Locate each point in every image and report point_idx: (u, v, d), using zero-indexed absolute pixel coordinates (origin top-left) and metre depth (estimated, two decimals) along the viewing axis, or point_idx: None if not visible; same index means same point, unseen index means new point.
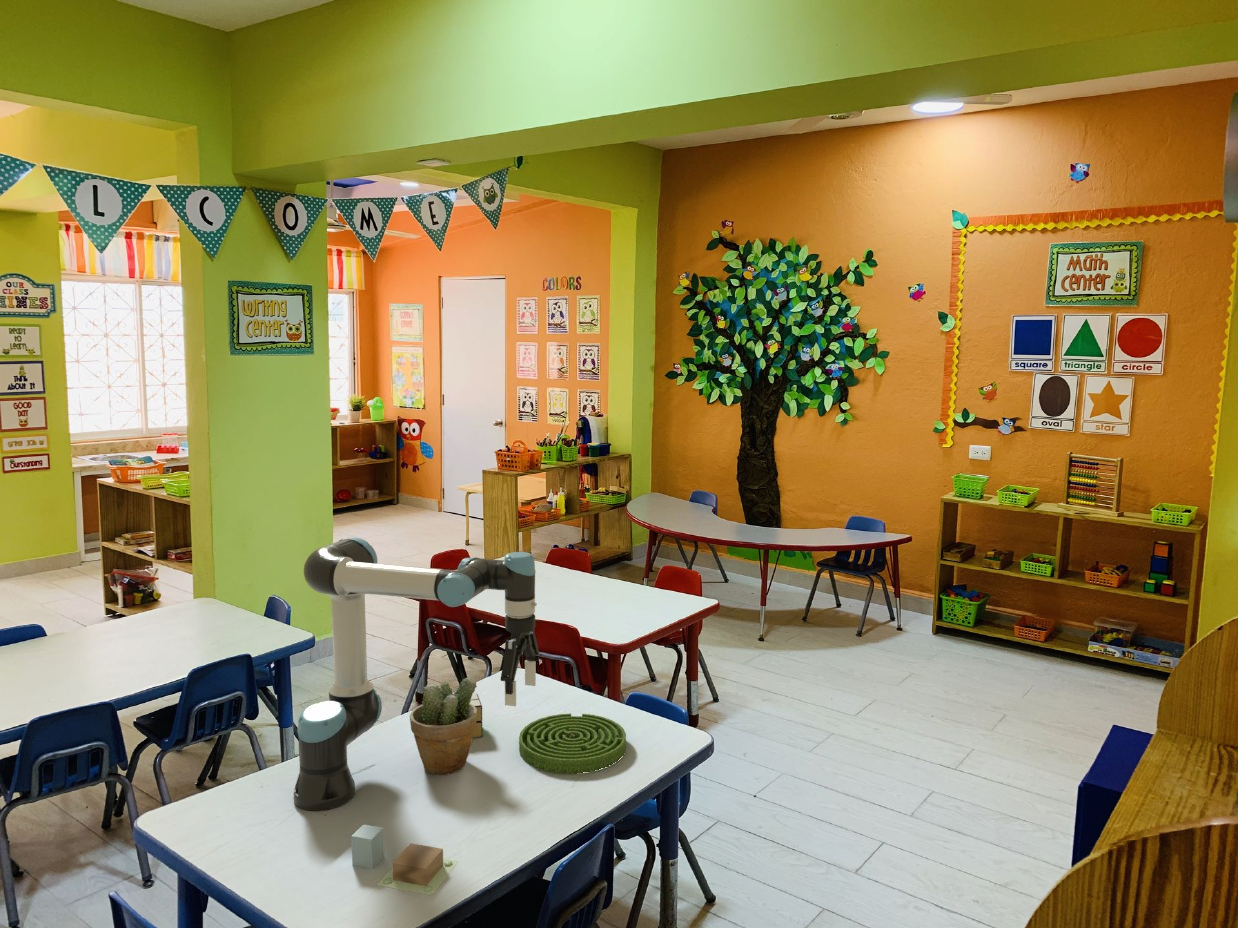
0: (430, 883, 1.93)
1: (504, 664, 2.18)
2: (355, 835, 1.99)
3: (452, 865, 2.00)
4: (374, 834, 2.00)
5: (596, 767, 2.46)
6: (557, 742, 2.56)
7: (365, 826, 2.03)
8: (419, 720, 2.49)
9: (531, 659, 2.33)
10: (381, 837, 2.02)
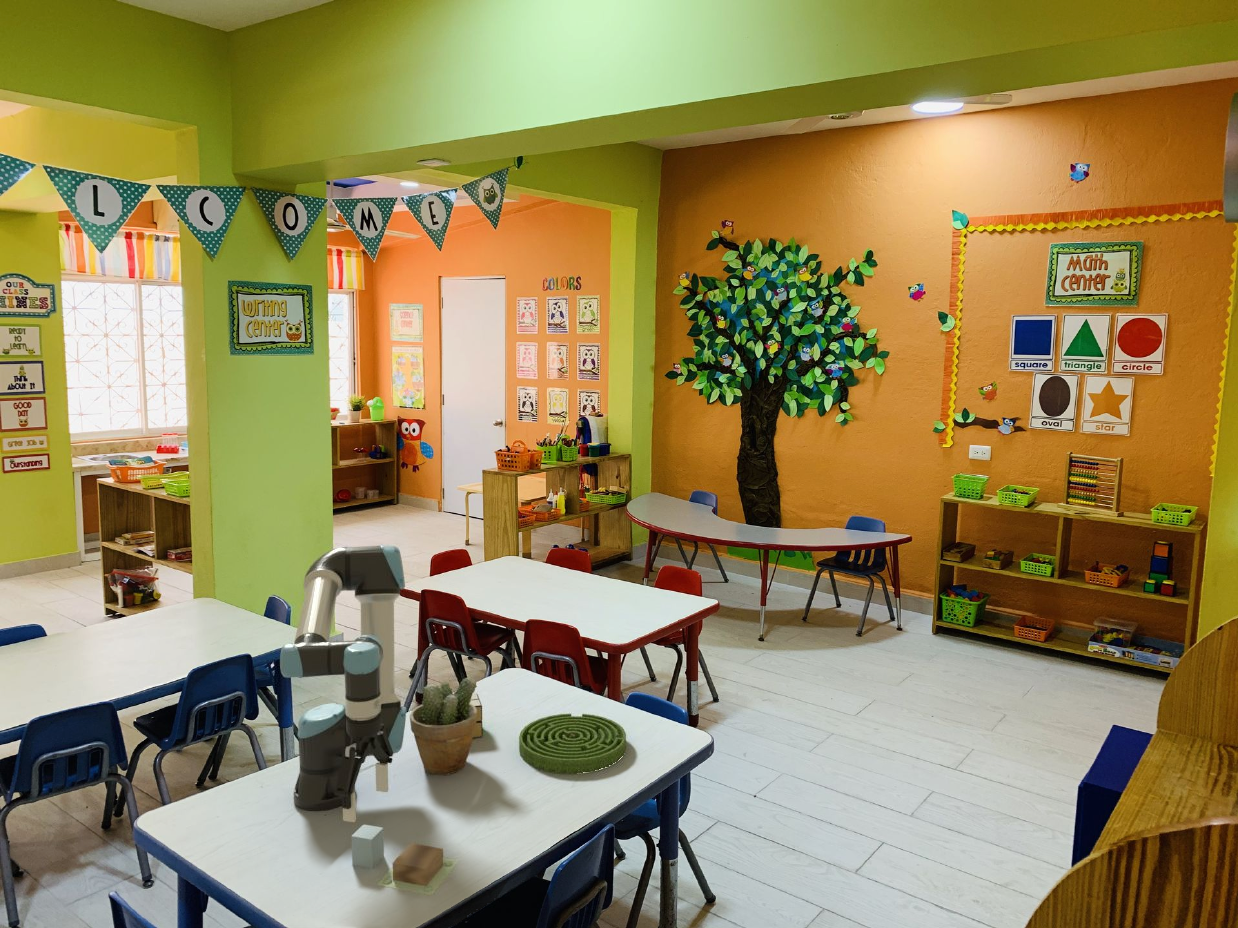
0: (430, 883, 1.93)
1: (340, 775, 1.90)
2: (355, 835, 1.99)
3: (452, 865, 2.00)
4: (374, 834, 1.99)
5: (596, 767, 2.46)
6: (557, 742, 2.56)
7: (365, 826, 2.03)
8: (419, 720, 2.49)
9: (383, 762, 2.05)
10: (381, 837, 2.02)
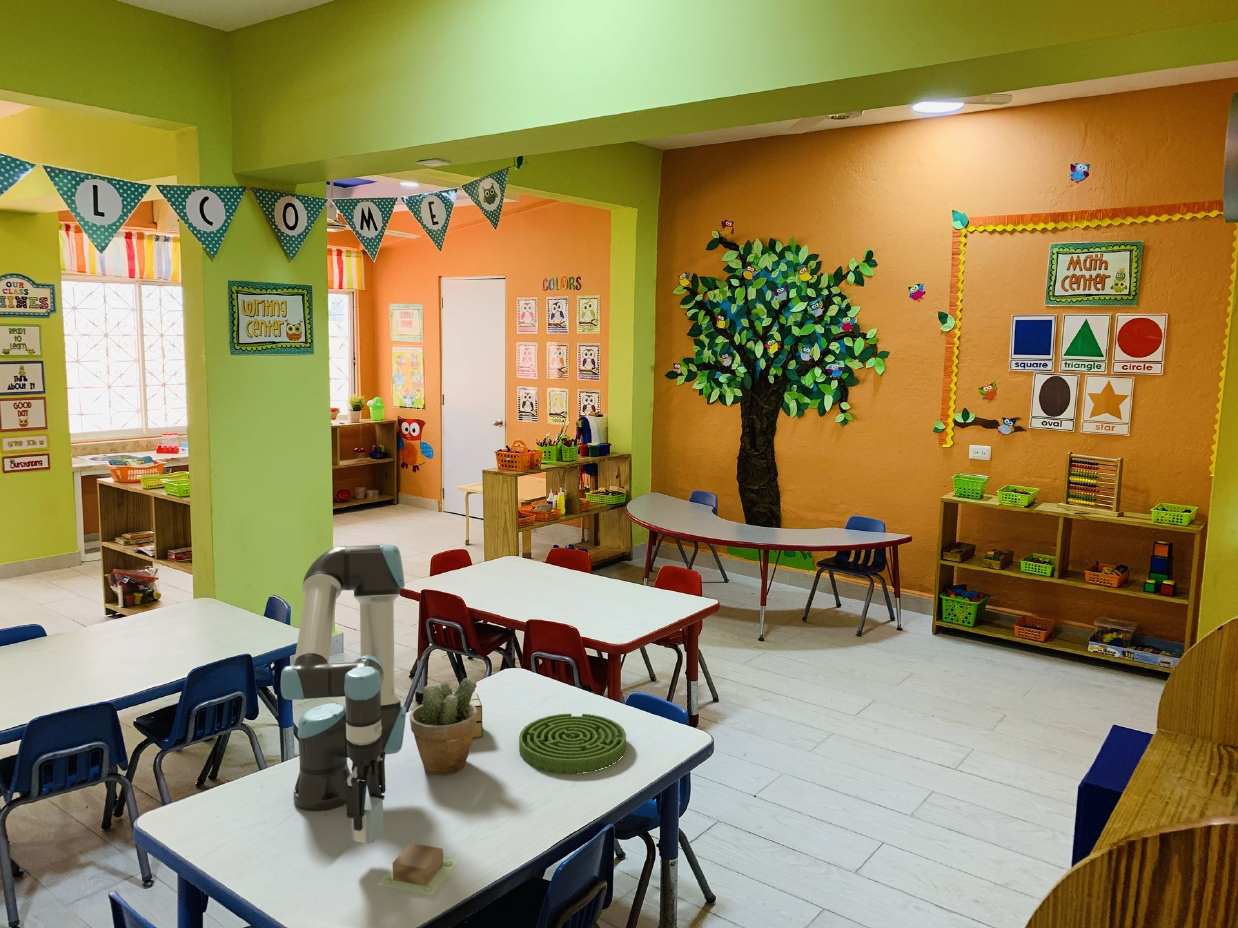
0: (430, 883, 1.93)
1: (348, 802, 1.94)
2: None
3: (452, 865, 2.00)
4: (373, 805, 1.99)
5: (596, 767, 2.46)
6: (557, 742, 2.56)
7: None
8: (419, 720, 2.49)
9: None
10: (380, 808, 2.01)
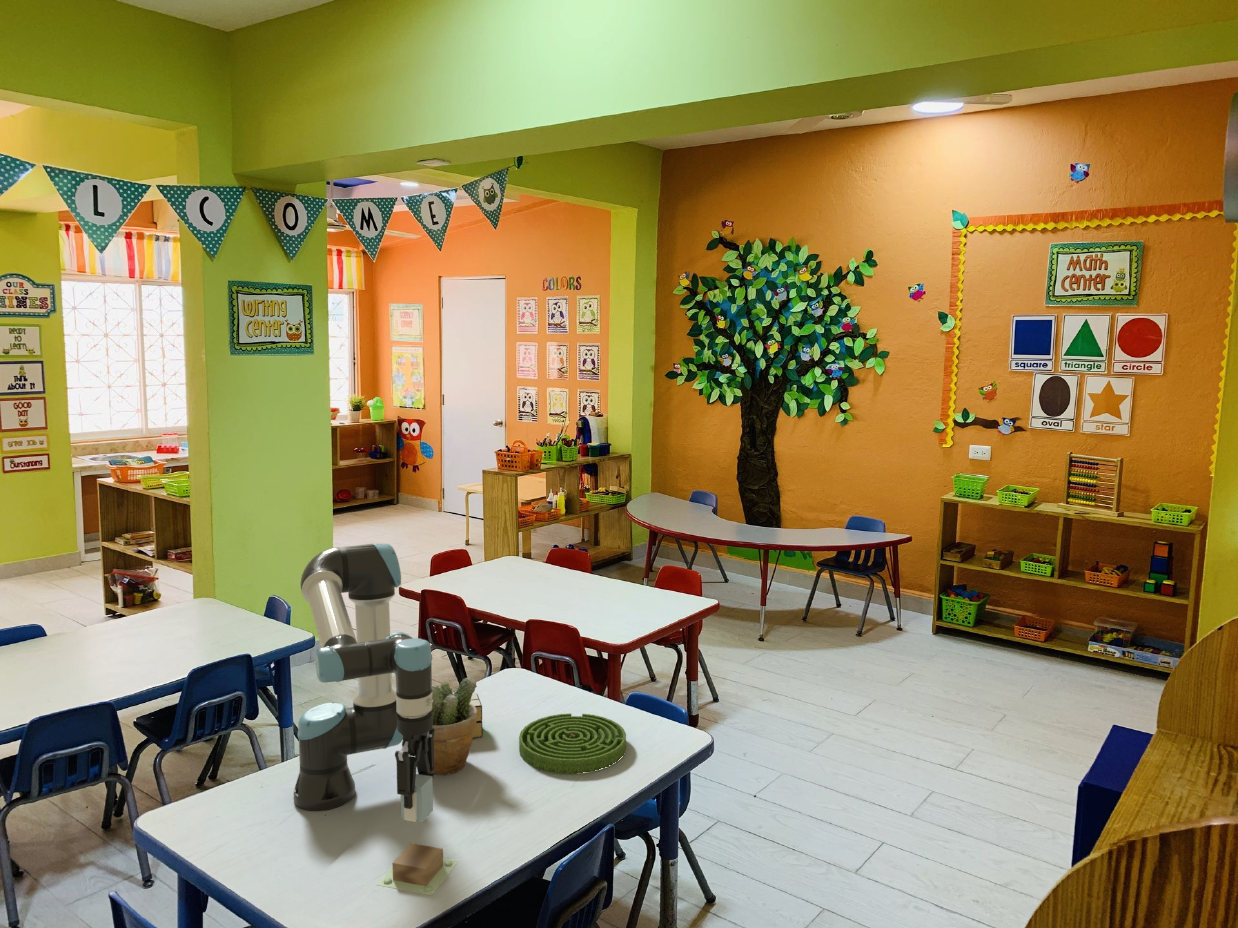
0: (430, 883, 1.93)
1: (399, 778, 1.88)
2: None
3: (452, 865, 2.00)
4: (423, 782, 1.93)
5: (596, 767, 2.46)
6: (557, 742, 2.56)
7: None
8: None
9: None
10: (430, 786, 1.95)
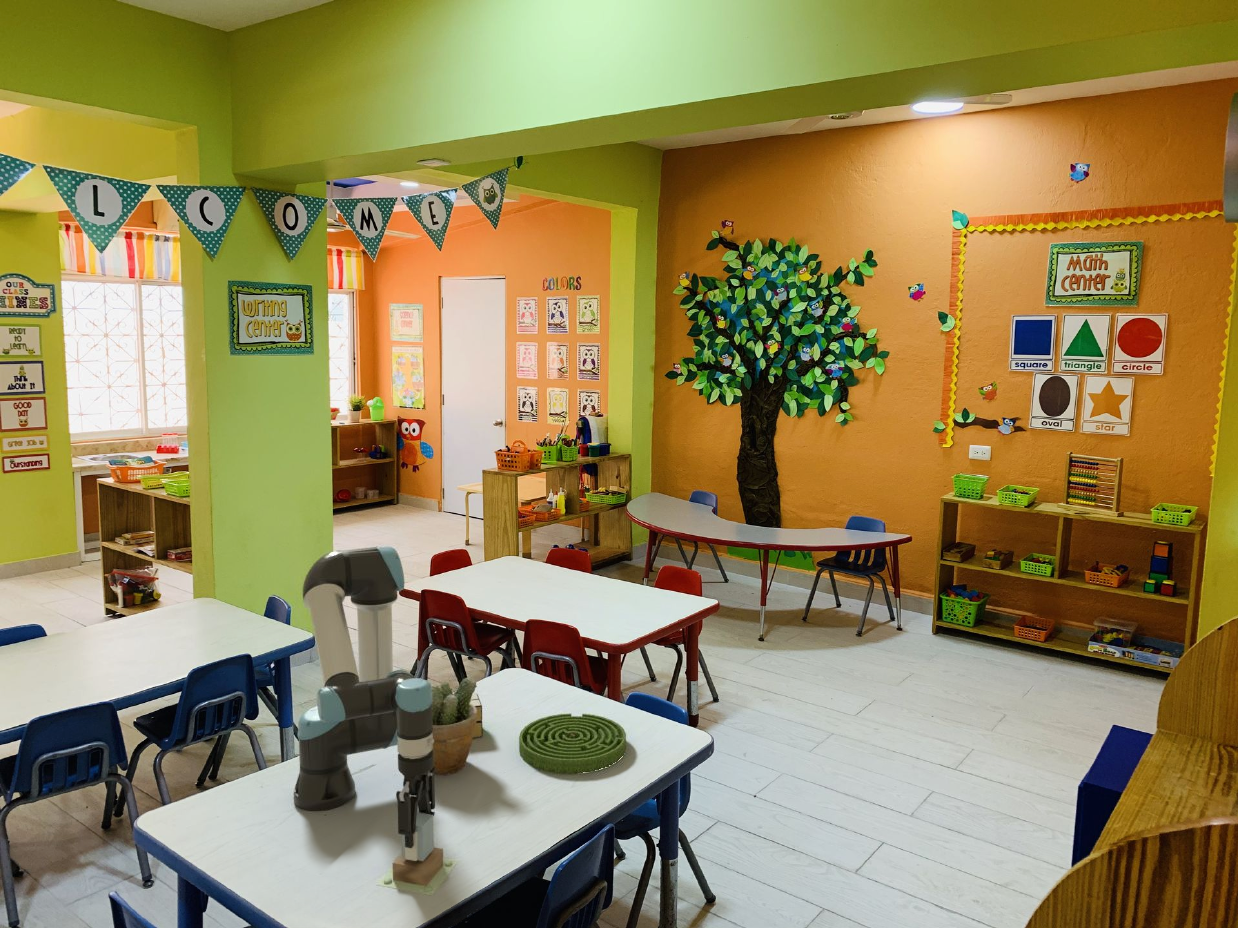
0: (430, 883, 1.93)
1: (400, 818, 1.89)
2: None
3: (452, 865, 2.00)
4: (424, 821, 1.94)
5: (596, 767, 2.46)
6: (557, 742, 2.56)
7: None
8: None
9: None
10: (431, 824, 1.97)
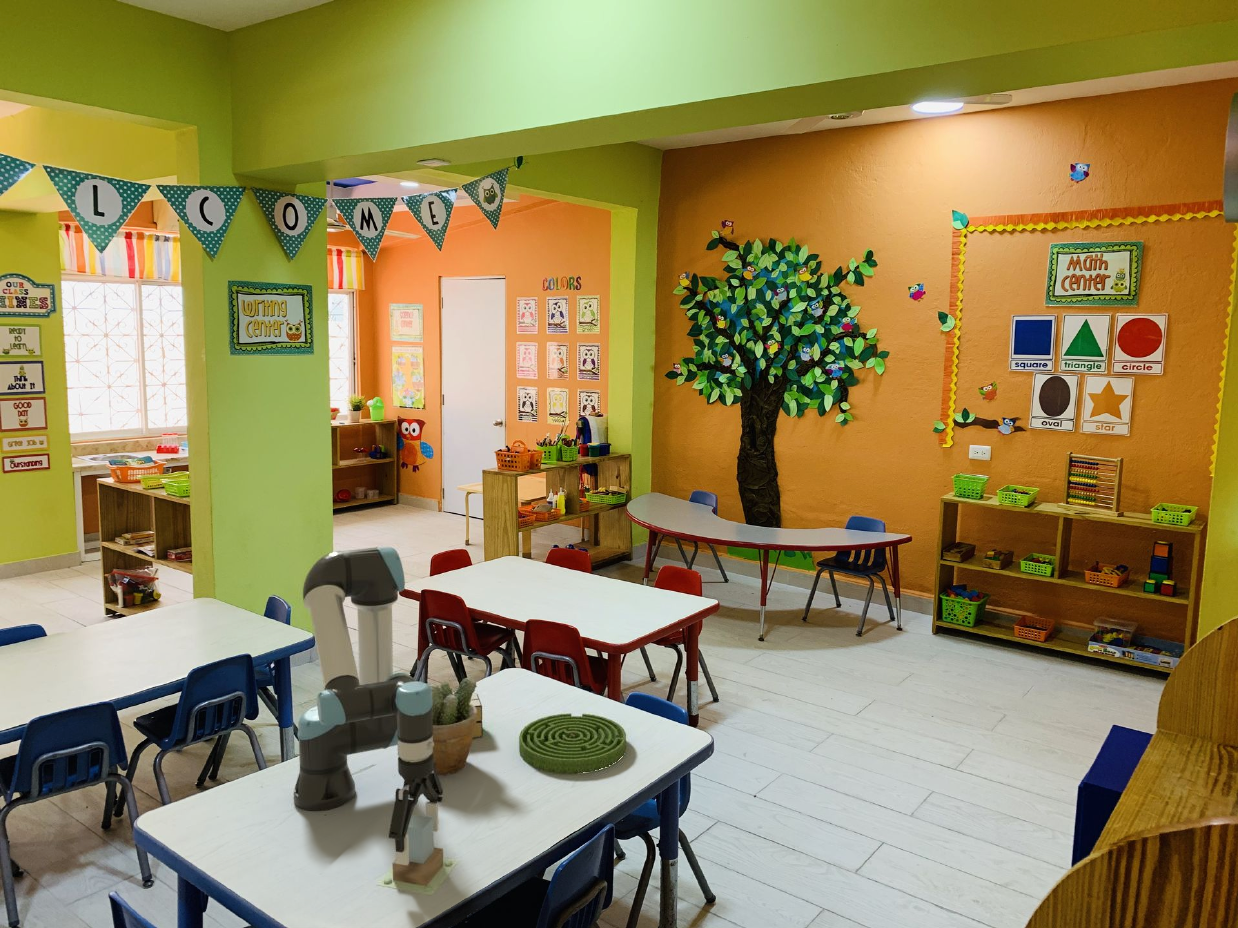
0: (430, 883, 1.93)
1: (394, 818, 1.87)
2: None
3: (452, 865, 2.00)
4: (424, 824, 1.94)
5: (596, 767, 2.46)
6: (557, 742, 2.56)
7: (414, 816, 1.98)
8: None
9: (433, 801, 2.02)
10: (431, 827, 1.97)
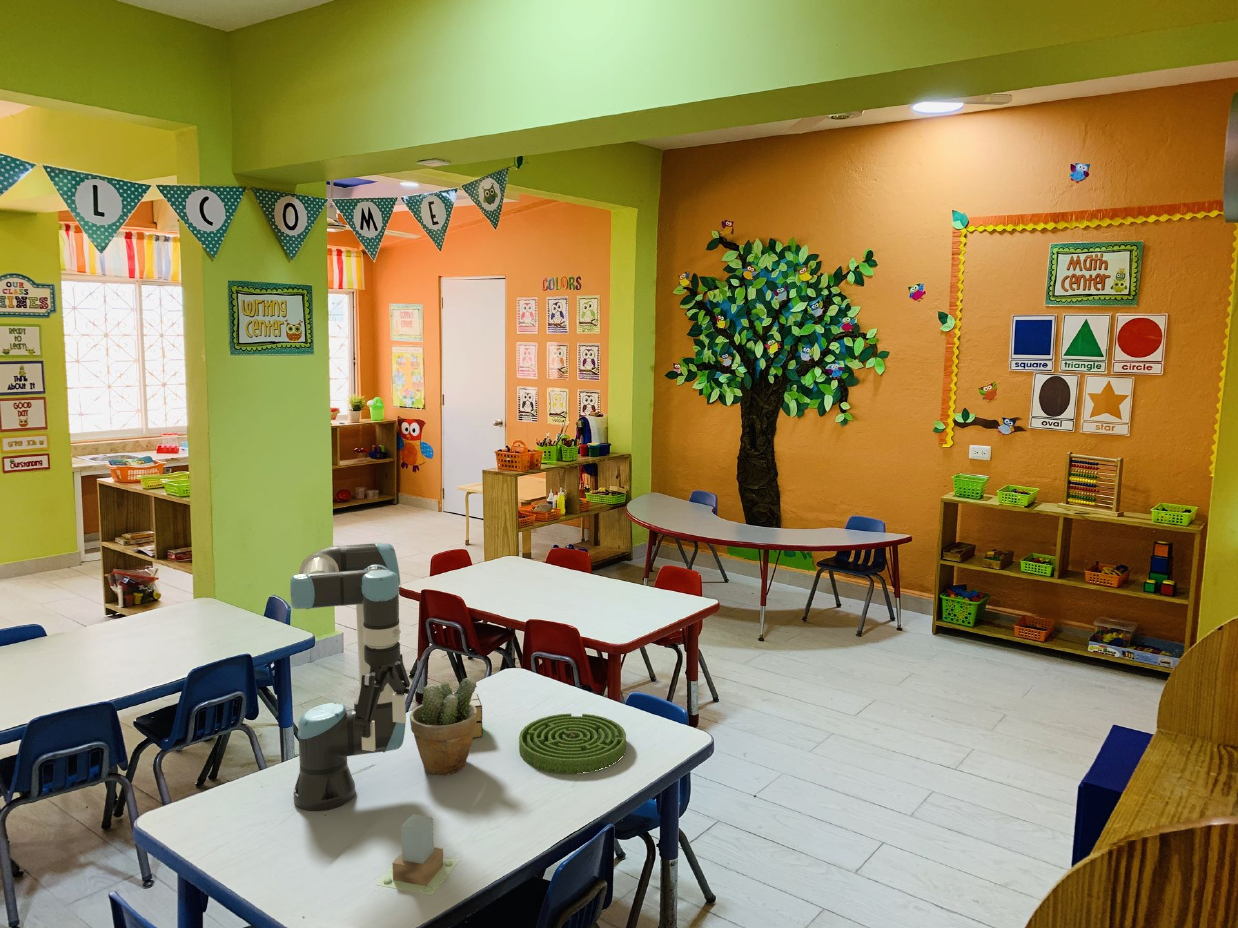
0: (430, 883, 1.93)
1: (359, 703, 1.86)
2: (405, 825, 1.94)
3: (452, 865, 2.00)
4: (424, 824, 1.94)
5: (596, 767, 2.46)
6: (557, 742, 2.56)
7: (414, 816, 1.98)
8: (419, 720, 2.49)
9: (400, 692, 2.01)
10: (431, 827, 1.97)
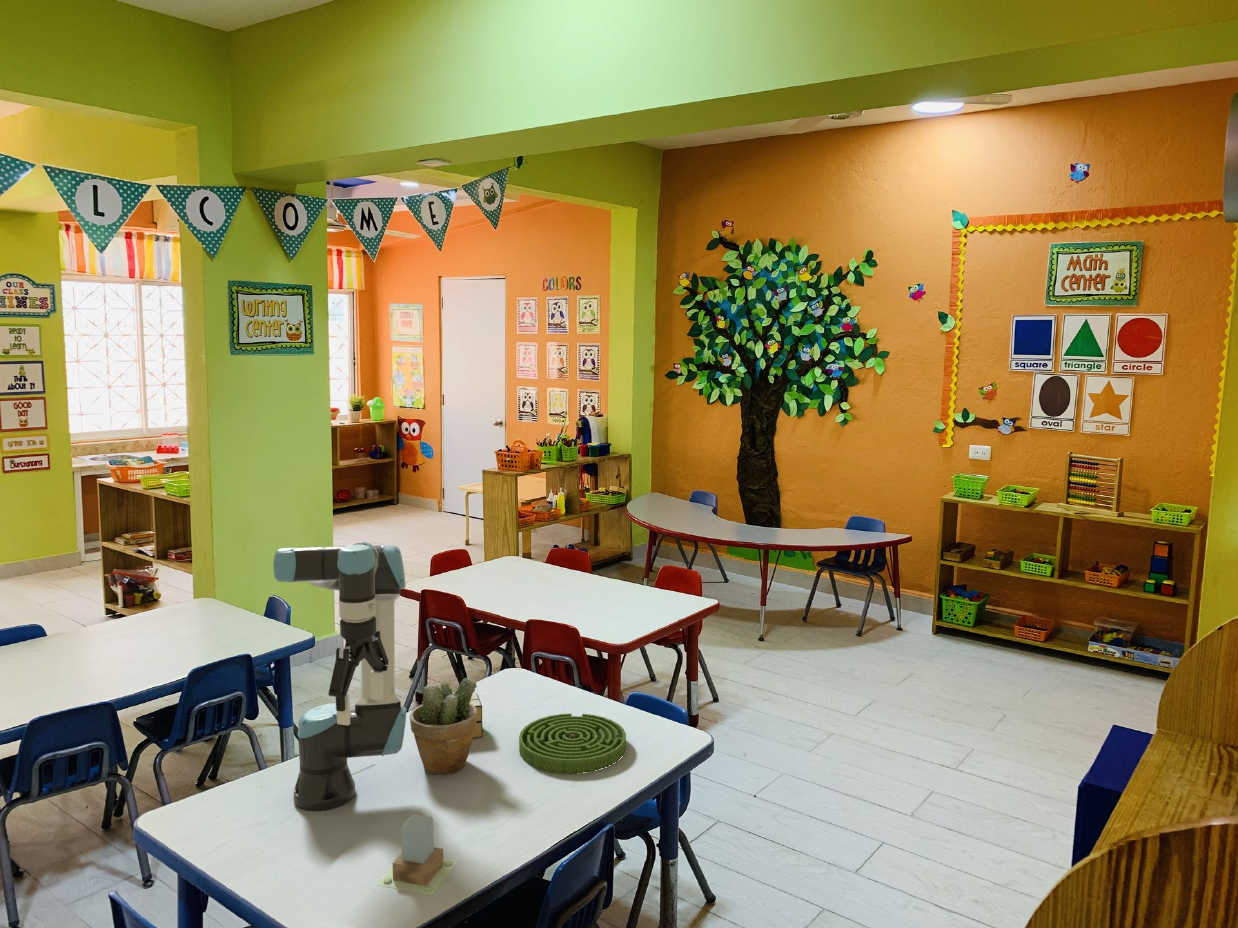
0: (430, 883, 1.93)
1: (334, 676, 1.86)
2: (405, 825, 1.94)
3: (452, 865, 2.00)
4: (424, 824, 1.94)
5: (596, 767, 2.46)
6: (557, 742, 2.56)
7: (414, 816, 1.98)
8: (419, 720, 2.49)
9: (378, 669, 2.01)
10: (431, 827, 1.97)
